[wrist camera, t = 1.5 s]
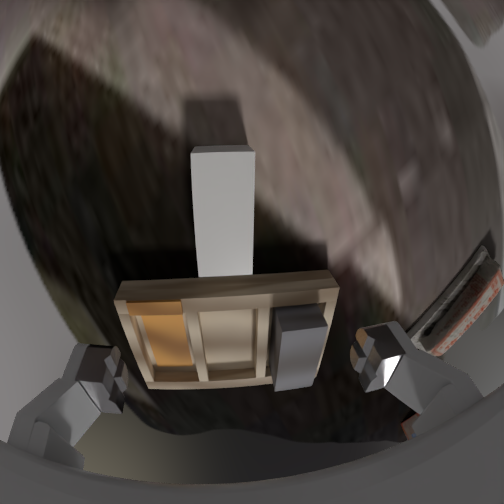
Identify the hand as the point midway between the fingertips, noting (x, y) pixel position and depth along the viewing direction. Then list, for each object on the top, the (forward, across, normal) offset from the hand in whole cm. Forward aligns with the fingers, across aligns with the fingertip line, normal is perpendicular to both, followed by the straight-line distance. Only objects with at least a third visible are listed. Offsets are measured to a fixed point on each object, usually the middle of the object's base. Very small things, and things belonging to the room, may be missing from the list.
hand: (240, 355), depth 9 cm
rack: (+15, 0, +13) cm, 20 cm away
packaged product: (+16, -33, +15) cm, 40 cm away
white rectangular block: (+15, 0, 0) cm, 15 cm away
